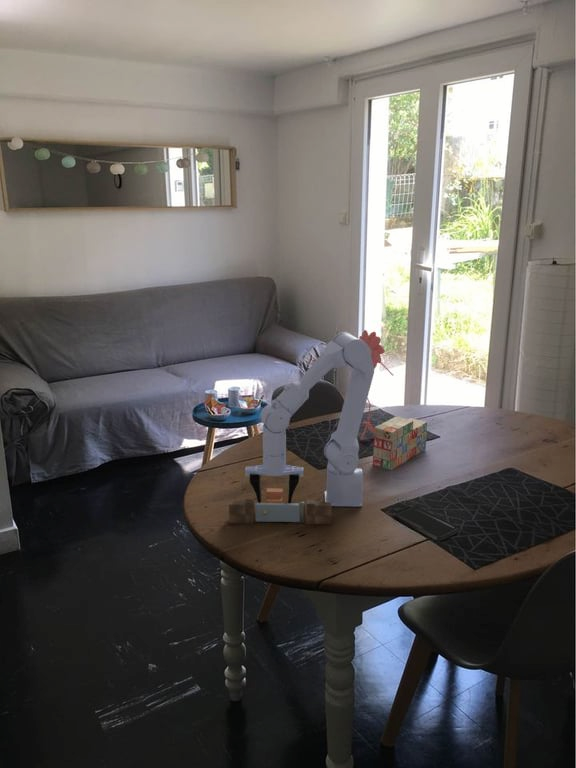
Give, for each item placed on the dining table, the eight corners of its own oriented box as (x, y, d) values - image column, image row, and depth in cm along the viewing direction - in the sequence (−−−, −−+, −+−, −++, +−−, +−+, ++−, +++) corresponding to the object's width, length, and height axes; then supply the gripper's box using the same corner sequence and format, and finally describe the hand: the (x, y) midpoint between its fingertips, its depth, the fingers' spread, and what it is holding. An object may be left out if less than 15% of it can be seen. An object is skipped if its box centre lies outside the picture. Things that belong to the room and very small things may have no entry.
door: (304, 519, 156) (305, 501, 155) (304, 523, 154) (305, 505, 153) (255, 519, 156) (255, 500, 155) (255, 523, 155) (255, 504, 153)
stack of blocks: (408, 444, 204) (410, 408, 201) (425, 449, 201) (428, 412, 197) (372, 465, 189) (374, 426, 185) (390, 471, 185) (392, 431, 181)
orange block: (282, 506, 164) (282, 488, 163) (281, 517, 158) (281, 499, 157) (267, 505, 164) (266, 488, 163) (265, 517, 158) (265, 499, 157)
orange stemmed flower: (376, 449, 200) (383, 340, 191) (325, 425, 220) (329, 326, 211) (411, 439, 209) (419, 335, 199) (358, 418, 229) (363, 322, 219)
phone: (412, 504, 163) (460, 528, 151) (412, 508, 163) (459, 532, 152) (391, 513, 158) (438, 538, 147) (390, 517, 159) (437, 543, 147)
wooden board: (330, 520, 156) (331, 500, 155) (331, 524, 155) (331, 504, 153) (230, 519, 157) (229, 499, 155) (229, 523, 155) (228, 502, 153)
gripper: (303, 446, 161) (303, 494, 165) (246, 445, 161) (247, 494, 165) (303, 457, 154) (303, 507, 158) (244, 456, 155) (245, 506, 159)
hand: (274, 501), depth 161 cm, fingers open, 7 cm apart
